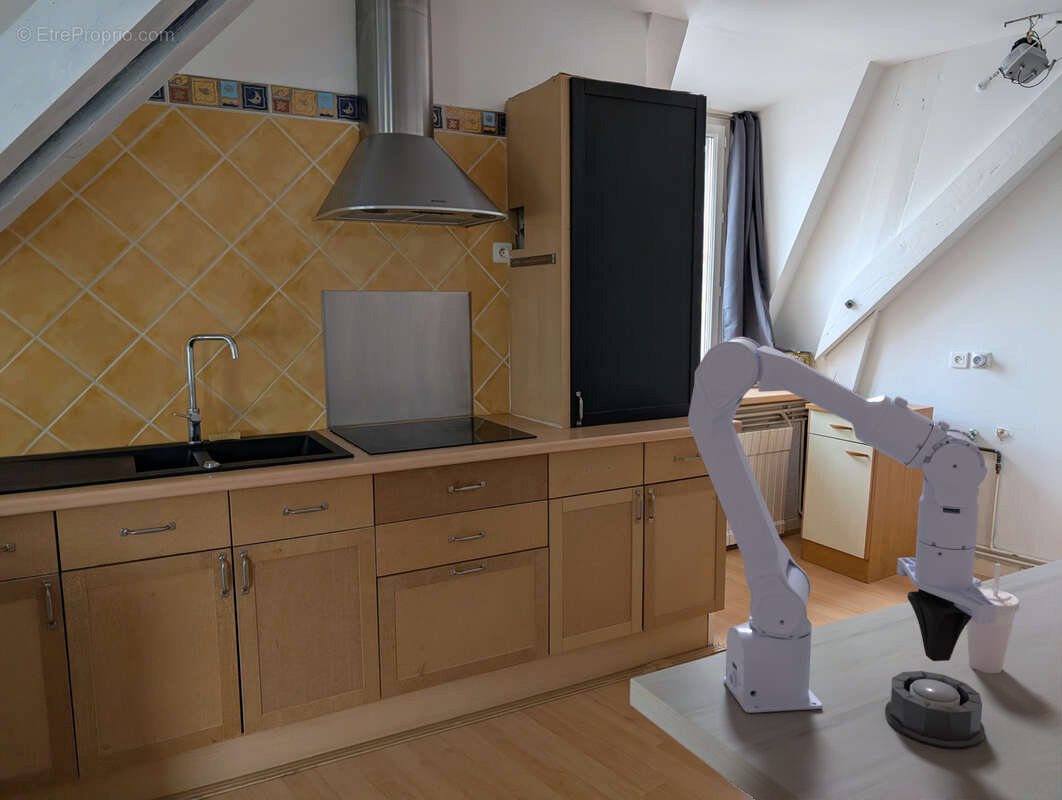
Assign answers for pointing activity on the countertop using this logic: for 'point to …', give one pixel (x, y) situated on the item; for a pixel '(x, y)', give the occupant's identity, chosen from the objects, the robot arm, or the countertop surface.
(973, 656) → the smoothie
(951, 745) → the dark grey pot
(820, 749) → the countertop surface
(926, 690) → the cap
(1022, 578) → the countertop surface
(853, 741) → the countertop surface
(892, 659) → the countertop surface
